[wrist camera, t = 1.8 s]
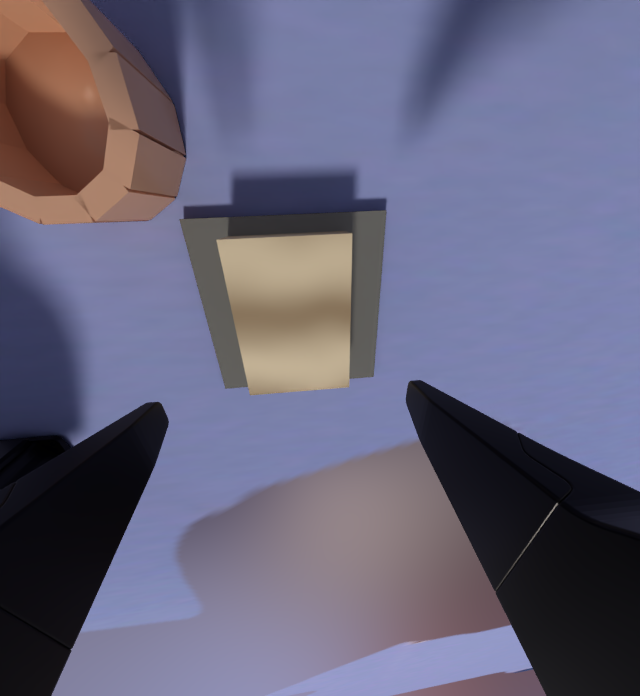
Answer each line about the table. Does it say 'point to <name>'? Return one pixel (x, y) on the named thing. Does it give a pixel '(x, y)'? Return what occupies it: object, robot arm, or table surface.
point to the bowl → (81, 119)
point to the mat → (361, 225)
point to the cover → (291, 308)
